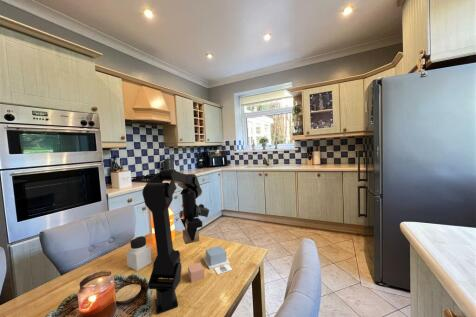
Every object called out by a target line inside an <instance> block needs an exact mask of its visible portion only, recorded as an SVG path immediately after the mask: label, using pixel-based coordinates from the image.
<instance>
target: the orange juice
mask: <svg viewBox="0 0 476 317" xmlns="http://www.w3.org/2000/svg"><path fill="white" fill-rule="evenodd" d="M168 209H169V218H170V227H171V235H172V242H173V241H174V240H175V239H176V234H175V233H176V232H175V219H174V218H175V217H174V215H175V214H174V212H173V210H172V208H171V207H170V206H169V208H168ZM150 219H151V231H152V232H151V234H152V244H153V245H156V240H155V232H154V224H153V216H152V215H151V218H150Z"/></svg>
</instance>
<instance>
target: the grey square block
mask: <svg viewBox="0 0 476 317" xmlns="http://www.w3.org/2000/svg"><path fill="white" fill-rule="evenodd" d="M205 255H206V256H205V257H203V261H204V262H205V264H206V266H207V268H208V269H209V270H214V268H217V267H220V266H222V265H223V266H224V265H227V264H229V265H230V264H231V262H230V260H229V259H228V257H227V251H226V250H225V249H224V248H223V247H222V245H217V246H214V247H210V248H206V249H205Z"/></svg>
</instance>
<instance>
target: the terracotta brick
mask: <svg viewBox="0 0 476 317" xmlns="http://www.w3.org/2000/svg"><path fill="white" fill-rule="evenodd" d="M187 274H188V278H189V280H190V282H191V284H192V283H196V282H199V281H201V280H205V268H204V266H203V264H202V263H201V262H197V263H194V264H191V265H188V266H187Z"/></svg>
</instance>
